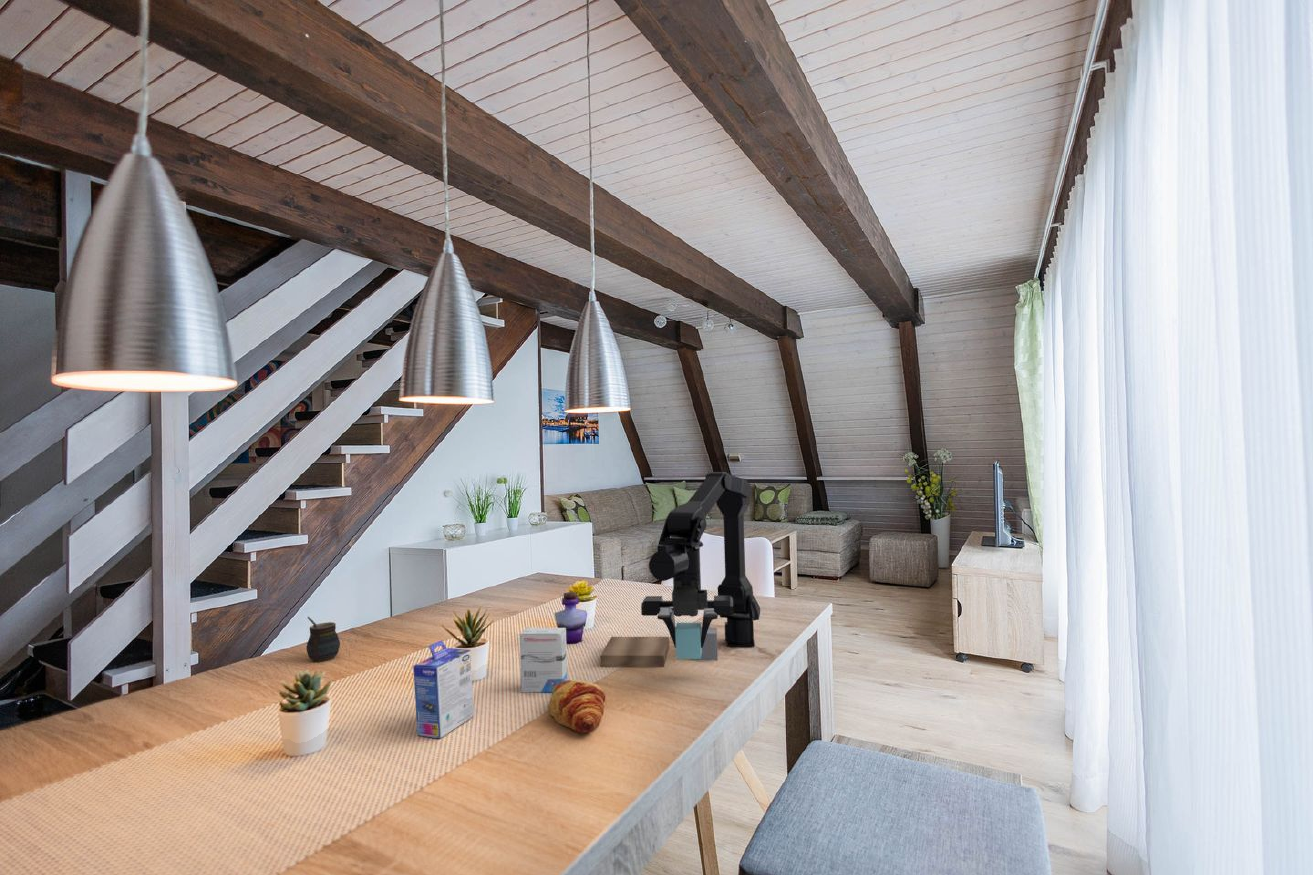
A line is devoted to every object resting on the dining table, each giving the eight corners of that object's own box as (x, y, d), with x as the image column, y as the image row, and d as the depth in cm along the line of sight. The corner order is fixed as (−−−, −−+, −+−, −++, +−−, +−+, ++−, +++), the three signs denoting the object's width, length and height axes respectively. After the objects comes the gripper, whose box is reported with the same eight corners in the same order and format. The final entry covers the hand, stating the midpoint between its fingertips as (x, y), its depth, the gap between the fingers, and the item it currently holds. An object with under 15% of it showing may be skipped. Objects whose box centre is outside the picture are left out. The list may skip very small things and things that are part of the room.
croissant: (551, 716, 128) (530, 682, 127) (594, 684, 131) (575, 651, 130) (576, 761, 108) (552, 722, 107) (627, 723, 111) (604, 684, 110)
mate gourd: (331, 663, 153) (329, 620, 153) (299, 664, 153) (297, 621, 153) (346, 653, 160) (344, 612, 160) (315, 654, 160) (313, 613, 160)
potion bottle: (592, 636, 168) (591, 589, 169) (583, 646, 160) (581, 597, 160) (560, 635, 170) (559, 588, 170) (549, 645, 161) (547, 596, 162)
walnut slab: (669, 649, 157) (669, 636, 157) (664, 669, 143) (663, 655, 143) (611, 649, 159) (611, 636, 159) (600, 669, 145) (600, 655, 145)
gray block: (717, 653, 152) (716, 627, 152) (717, 660, 147) (716, 633, 147) (695, 653, 152) (695, 627, 152) (695, 660, 147) (694, 633, 147)
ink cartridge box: (449, 713, 122) (447, 634, 122) (475, 716, 120) (473, 636, 120) (413, 735, 112) (411, 650, 113) (440, 739, 111) (438, 653, 111)
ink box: (568, 684, 135) (566, 626, 135) (562, 693, 130) (561, 633, 130) (527, 683, 136) (526, 626, 136) (520, 692, 131) (518, 633, 131)
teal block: (701, 651, 138) (700, 622, 138) (700, 658, 133) (699, 629, 133) (677, 651, 139) (677, 622, 139) (676, 658, 134) (675, 629, 134)
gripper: (636, 580, 129) (639, 659, 129) (732, 579, 127) (735, 660, 127) (643, 569, 140) (645, 642, 140) (731, 568, 138) (734, 642, 138)
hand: (688, 647), depth 136 cm, fingers closed on teal block, 5 cm apart
